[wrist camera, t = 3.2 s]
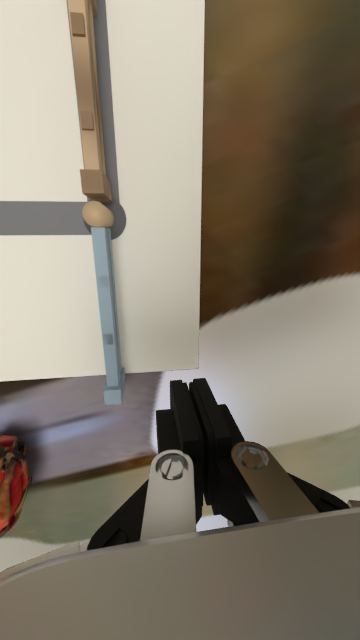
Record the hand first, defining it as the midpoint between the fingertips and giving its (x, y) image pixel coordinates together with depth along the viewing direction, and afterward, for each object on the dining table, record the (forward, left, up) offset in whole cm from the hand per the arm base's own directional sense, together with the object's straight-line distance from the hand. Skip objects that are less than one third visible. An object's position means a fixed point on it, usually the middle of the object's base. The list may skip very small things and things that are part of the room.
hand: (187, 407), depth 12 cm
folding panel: (+5, -3, -10) cm, 11 cm away
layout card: (+9, -10, -10) cm, 17 cm away
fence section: (+5, -16, -10) cm, 19 cm away
